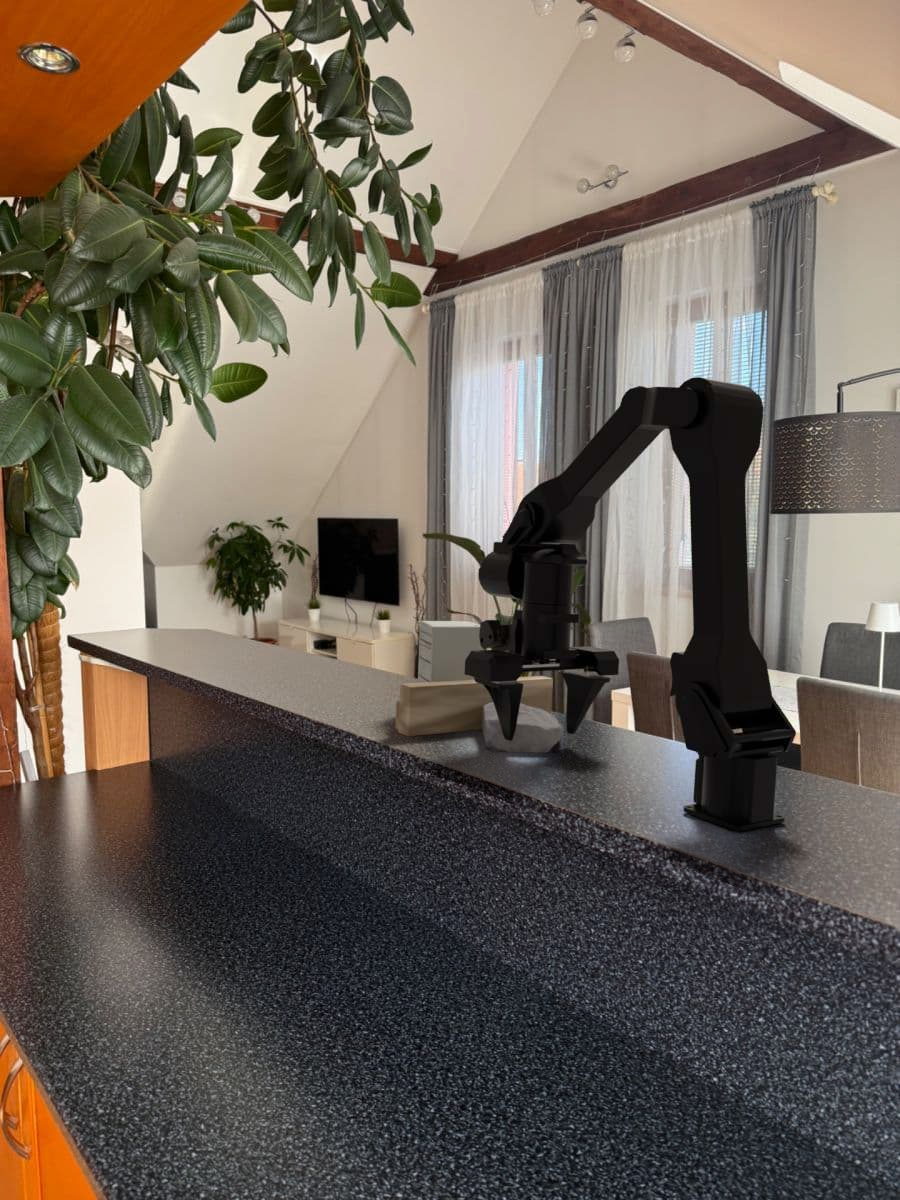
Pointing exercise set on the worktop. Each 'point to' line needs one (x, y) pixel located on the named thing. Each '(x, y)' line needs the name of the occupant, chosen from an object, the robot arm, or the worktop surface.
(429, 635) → the supplement box
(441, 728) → the block
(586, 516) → the robot arm
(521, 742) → the stone block
